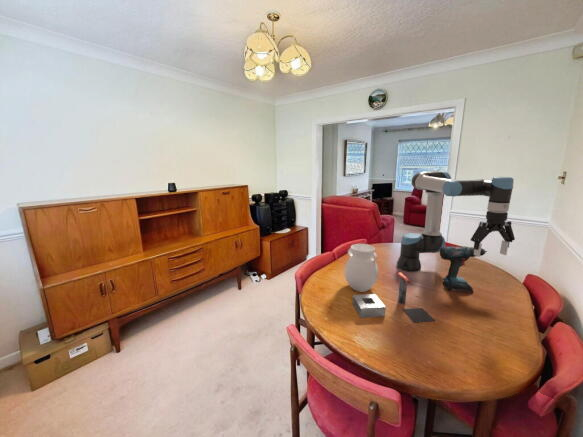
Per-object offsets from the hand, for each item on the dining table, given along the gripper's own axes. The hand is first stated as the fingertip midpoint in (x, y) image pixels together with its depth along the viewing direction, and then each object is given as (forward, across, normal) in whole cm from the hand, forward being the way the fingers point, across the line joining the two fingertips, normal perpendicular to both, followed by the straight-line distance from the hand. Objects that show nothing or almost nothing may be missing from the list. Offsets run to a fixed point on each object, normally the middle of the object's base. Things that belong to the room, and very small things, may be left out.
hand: (489, 255), depth 118 cm
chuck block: (+27, -57, +4) cm, 63 cm away
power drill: (+28, +2, +18) cm, 33 cm away
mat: (+27, -35, -3) cm, 44 cm away
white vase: (+28, -52, +26) cm, 65 cm away
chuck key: (+27, -37, +9) cm, 47 cm away
